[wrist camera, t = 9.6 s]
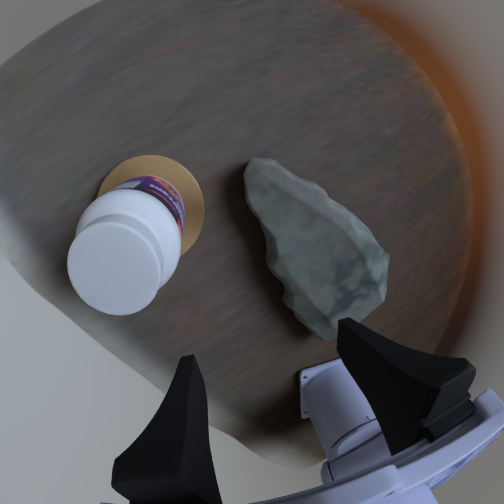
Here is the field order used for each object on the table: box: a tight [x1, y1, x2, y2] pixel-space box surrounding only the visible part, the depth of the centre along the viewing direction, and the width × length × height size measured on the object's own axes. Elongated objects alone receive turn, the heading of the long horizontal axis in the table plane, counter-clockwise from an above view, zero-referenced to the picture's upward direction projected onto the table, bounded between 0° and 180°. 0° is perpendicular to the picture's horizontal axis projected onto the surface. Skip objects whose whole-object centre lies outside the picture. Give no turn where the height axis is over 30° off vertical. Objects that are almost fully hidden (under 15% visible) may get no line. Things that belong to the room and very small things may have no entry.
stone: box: [243, 157, 390, 341], centre depth 22 cm, size 17×3×10 cm
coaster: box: [97, 155, 205, 256], centre depth 19 cm, size 8×8×1 cm
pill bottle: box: [67, 175, 185, 316], centre depth 14 cm, size 5×5×10 cm
